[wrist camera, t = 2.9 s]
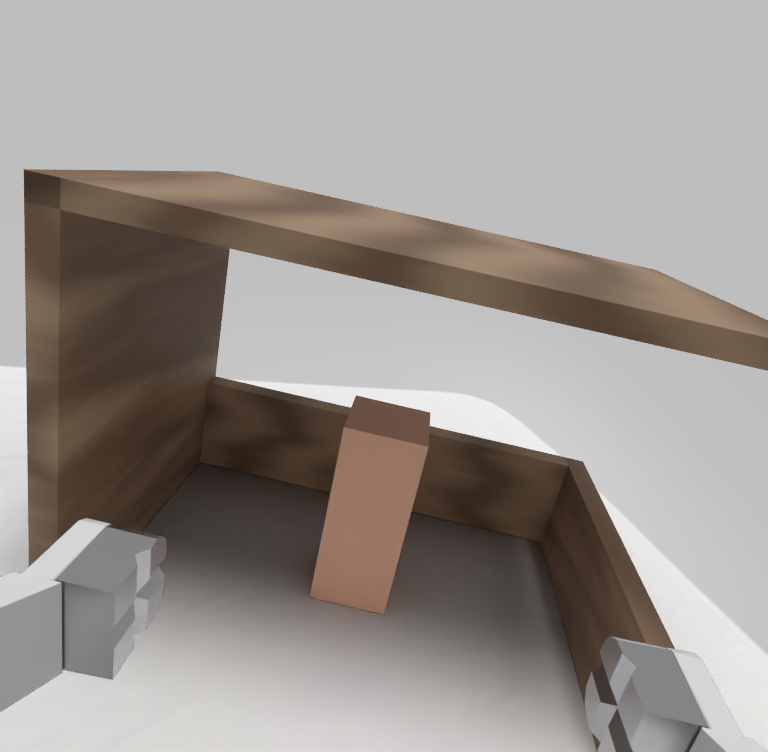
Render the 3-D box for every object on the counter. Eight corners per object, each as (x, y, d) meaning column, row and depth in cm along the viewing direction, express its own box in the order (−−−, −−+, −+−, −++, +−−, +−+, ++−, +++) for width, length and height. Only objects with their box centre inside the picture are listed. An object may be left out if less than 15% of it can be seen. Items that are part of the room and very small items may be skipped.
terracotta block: (309, 597, 30) (343, 427, 26) (324, 549, 33) (356, 395, 30) (384, 614, 30) (428, 446, 26) (390, 565, 33) (430, 412, 30)
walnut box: (29, 626, 25) (23, 169, 18) (190, 450, 40) (218, 171, 34) (629, 771, 24) (845, 355, 18) (554, 535, 40) (654, 269, 33)
